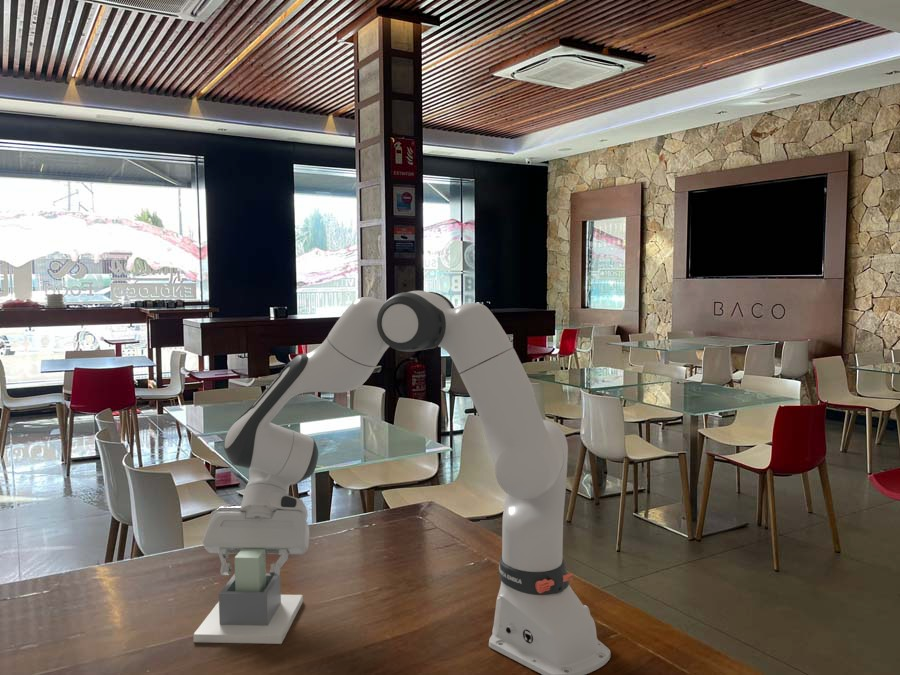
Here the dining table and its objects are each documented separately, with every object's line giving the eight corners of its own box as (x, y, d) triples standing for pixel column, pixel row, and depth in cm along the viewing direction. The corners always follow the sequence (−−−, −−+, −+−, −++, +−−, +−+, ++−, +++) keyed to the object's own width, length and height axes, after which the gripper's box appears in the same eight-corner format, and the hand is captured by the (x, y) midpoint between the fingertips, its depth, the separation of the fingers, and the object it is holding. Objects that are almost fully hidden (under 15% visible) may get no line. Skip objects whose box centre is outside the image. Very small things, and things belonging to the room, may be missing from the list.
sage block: (243, 607, 134) (242, 548, 133) (266, 608, 134) (265, 548, 133) (236, 619, 130) (234, 557, 129) (259, 619, 130) (258, 557, 129)
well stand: (224, 600, 140) (223, 565, 140) (302, 602, 140) (302, 566, 139) (193, 642, 125) (192, 602, 124) (281, 643, 124) (280, 603, 123)
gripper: (208, 499, 138) (190, 567, 129) (310, 500, 137) (298, 568, 128) (217, 513, 142) (200, 579, 134) (315, 514, 142) (305, 581, 133)
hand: (249, 574), depth 131 cm, fingers open, 8 cm apart
